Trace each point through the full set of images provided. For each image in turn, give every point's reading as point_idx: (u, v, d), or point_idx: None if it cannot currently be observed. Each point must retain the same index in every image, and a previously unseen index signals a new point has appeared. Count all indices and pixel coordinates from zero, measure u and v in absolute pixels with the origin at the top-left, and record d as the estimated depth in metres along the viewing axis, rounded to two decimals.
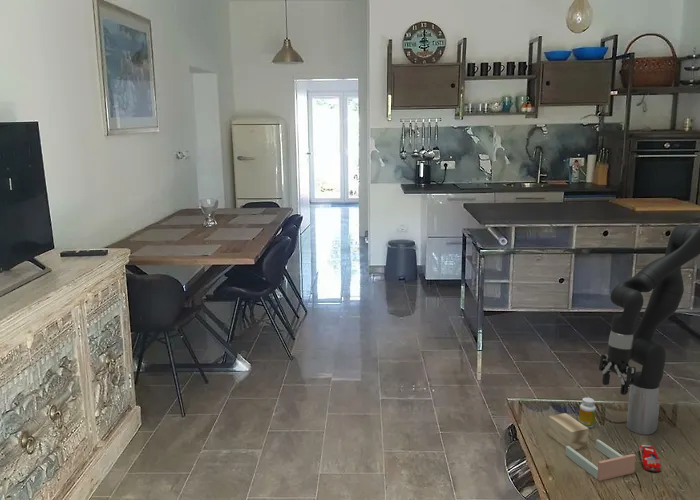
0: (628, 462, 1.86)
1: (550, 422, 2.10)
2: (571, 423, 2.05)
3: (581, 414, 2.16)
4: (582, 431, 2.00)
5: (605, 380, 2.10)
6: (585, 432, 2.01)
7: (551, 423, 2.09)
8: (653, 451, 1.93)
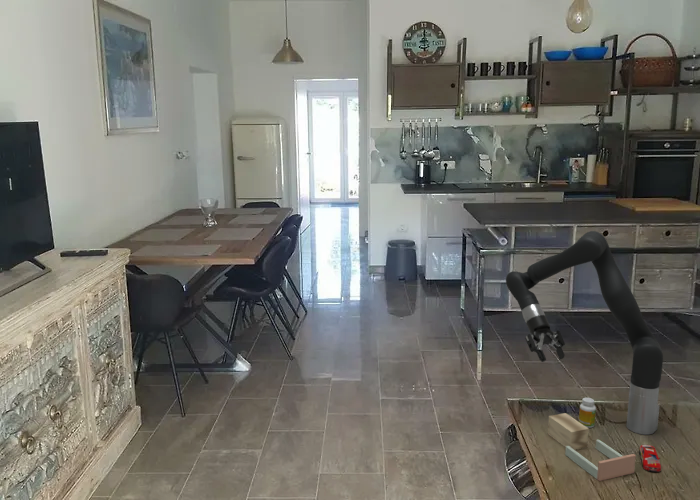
0: (628, 462, 1.86)
1: (550, 422, 2.10)
2: (571, 423, 2.04)
3: (581, 414, 2.16)
4: (582, 431, 2.00)
5: (558, 354, 2.17)
6: (585, 432, 2.01)
7: (551, 423, 2.09)
8: (653, 451, 1.93)
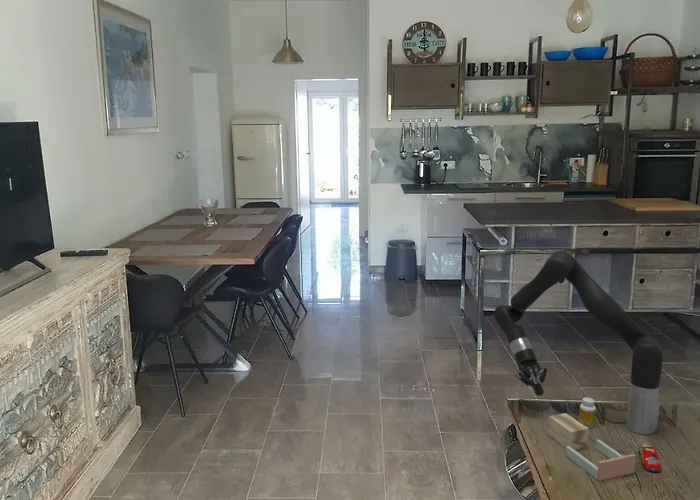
0: (628, 462, 1.86)
1: (550, 422, 2.10)
2: (571, 423, 2.04)
3: (581, 414, 2.16)
4: (582, 431, 2.00)
5: None
6: (585, 432, 2.01)
7: (551, 423, 2.09)
8: (654, 451, 1.93)
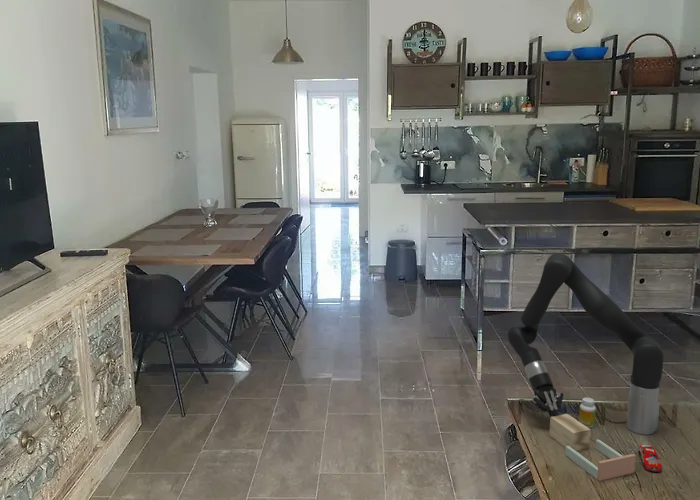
0: (628, 462, 1.86)
1: (551, 423, 2.09)
2: (573, 424, 2.04)
3: (581, 414, 2.16)
4: (584, 432, 2.00)
5: None
6: (587, 433, 2.00)
7: (553, 424, 2.08)
8: (654, 451, 1.93)
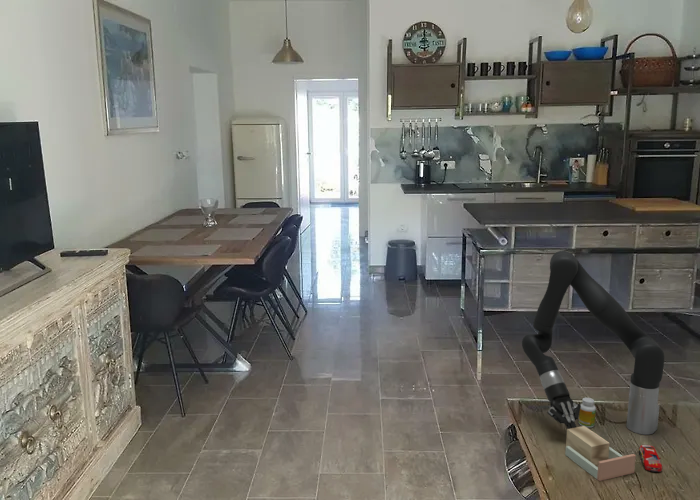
0: (628, 462, 1.86)
1: (568, 436, 2.00)
2: (591, 437, 1.95)
3: (581, 414, 2.16)
4: (603, 446, 1.91)
5: None
6: (606, 447, 1.91)
7: (569, 436, 2.00)
8: (654, 451, 1.92)
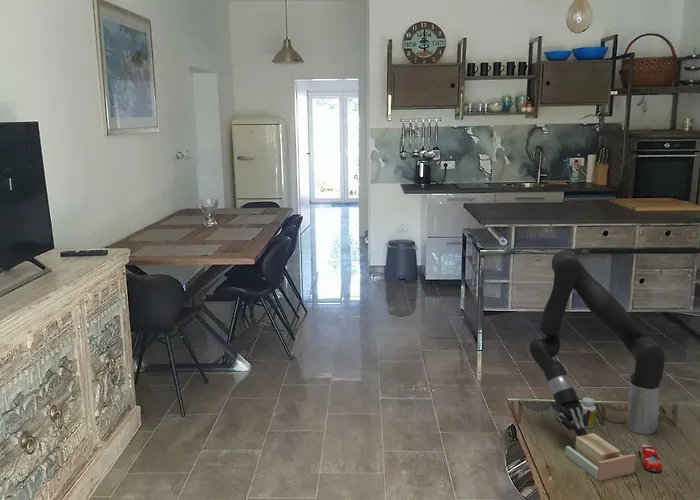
0: (628, 462, 1.86)
1: (577, 444, 1.95)
2: (601, 445, 1.90)
3: None
4: (613, 454, 1.86)
5: None
6: (616, 455, 1.87)
7: (579, 444, 1.95)
8: (654, 451, 1.92)
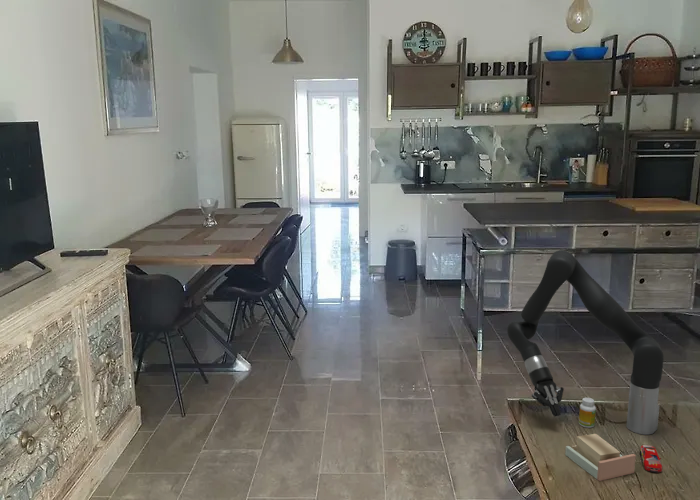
0: (628, 462, 1.86)
1: (578, 443, 1.96)
2: (601, 446, 1.90)
3: (581, 414, 2.16)
4: (613, 455, 1.86)
5: None
6: (616, 456, 1.86)
7: (579, 444, 1.95)
8: (654, 452, 1.92)
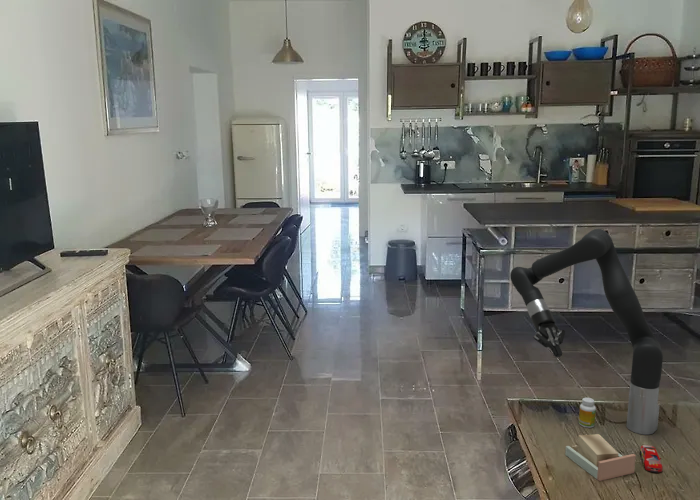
0: (628, 462, 1.86)
1: (579, 442, 1.96)
2: (601, 446, 1.90)
3: (581, 414, 2.16)
4: (610, 455, 1.86)
5: None
6: (614, 457, 1.86)
7: (580, 443, 1.96)
8: (654, 452, 1.92)
